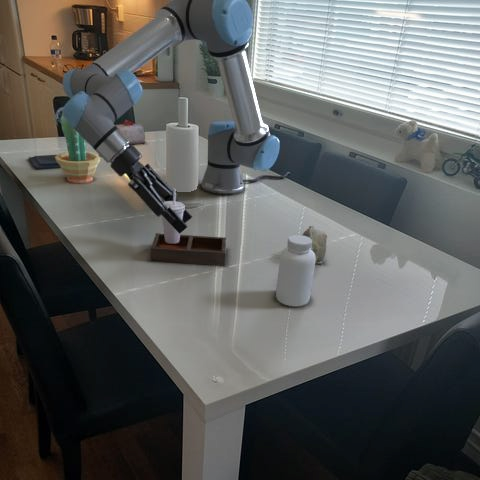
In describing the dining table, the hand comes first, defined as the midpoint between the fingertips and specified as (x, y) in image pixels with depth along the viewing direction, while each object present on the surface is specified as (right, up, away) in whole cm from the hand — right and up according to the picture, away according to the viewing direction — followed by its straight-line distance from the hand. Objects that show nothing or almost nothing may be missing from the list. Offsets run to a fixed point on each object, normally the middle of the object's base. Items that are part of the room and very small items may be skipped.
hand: (186, 224), depth 128 cm
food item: (-37, +56, +101) cm, 122 cm away
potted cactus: (-44, +26, +52) cm, 73 cm away
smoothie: (-4, -4, +3) cm, 6 cm away
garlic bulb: (+34, -8, +9) cm, 35 cm away
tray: (0, -7, +5) cm, 9 cm away
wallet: (-57, +37, +68) cm, 96 cm away
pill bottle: (+26, -20, -11) cm, 35 cm away
